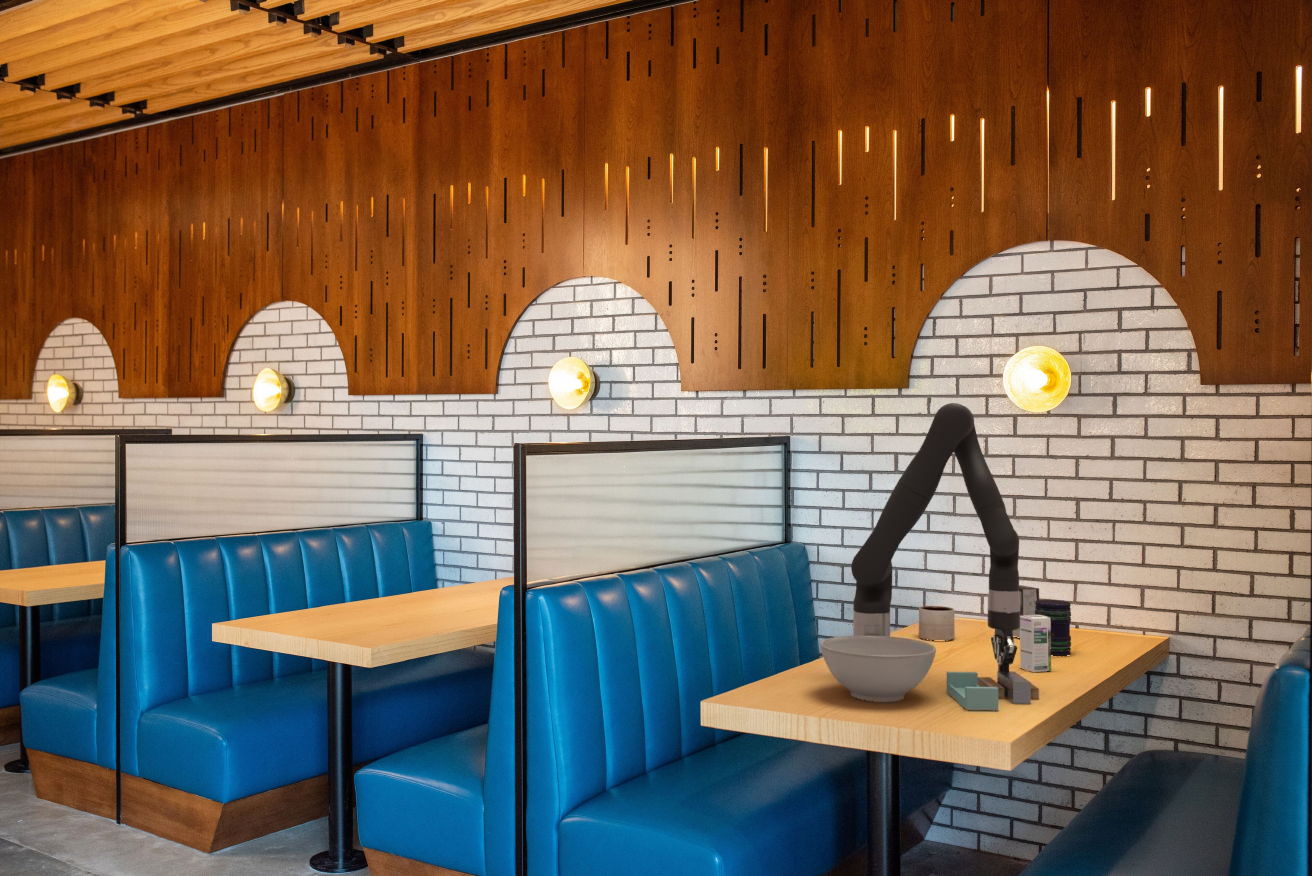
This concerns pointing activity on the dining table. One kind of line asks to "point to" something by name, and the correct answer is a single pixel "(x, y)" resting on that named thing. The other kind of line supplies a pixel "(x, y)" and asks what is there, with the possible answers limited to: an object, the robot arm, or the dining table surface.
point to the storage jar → (1057, 624)
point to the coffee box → (1027, 603)
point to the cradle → (971, 691)
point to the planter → (936, 623)
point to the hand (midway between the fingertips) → (1003, 679)
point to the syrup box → (1035, 643)
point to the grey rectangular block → (1015, 687)
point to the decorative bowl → (878, 665)
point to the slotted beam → (1001, 690)
